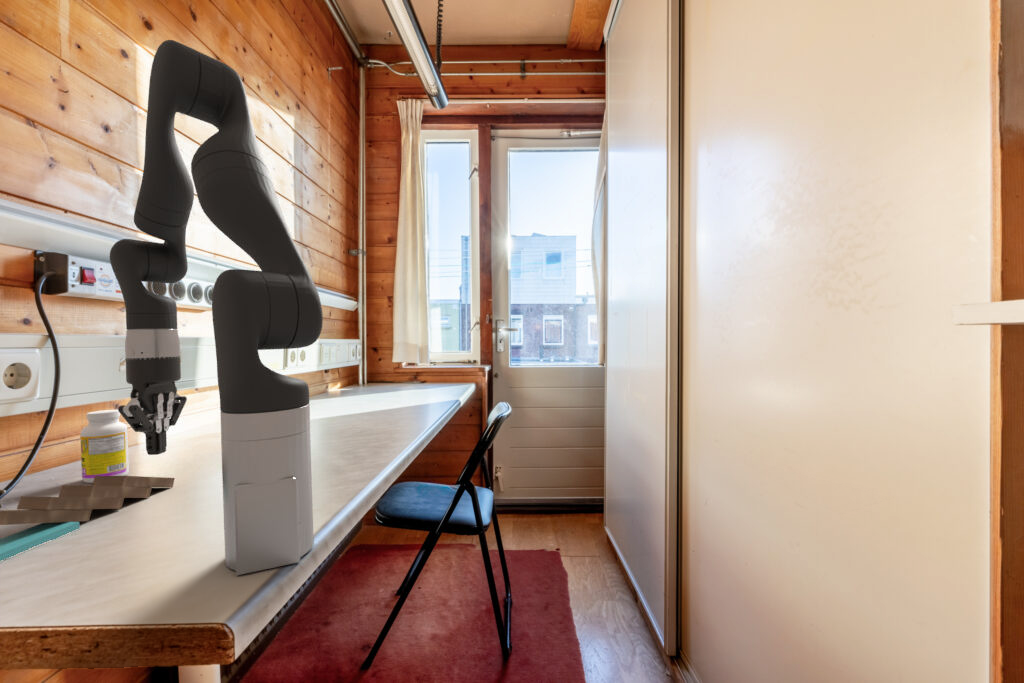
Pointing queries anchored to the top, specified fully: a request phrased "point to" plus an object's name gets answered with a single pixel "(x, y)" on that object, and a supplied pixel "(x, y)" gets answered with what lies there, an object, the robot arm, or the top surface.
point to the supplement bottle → (104, 446)
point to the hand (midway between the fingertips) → (156, 453)
